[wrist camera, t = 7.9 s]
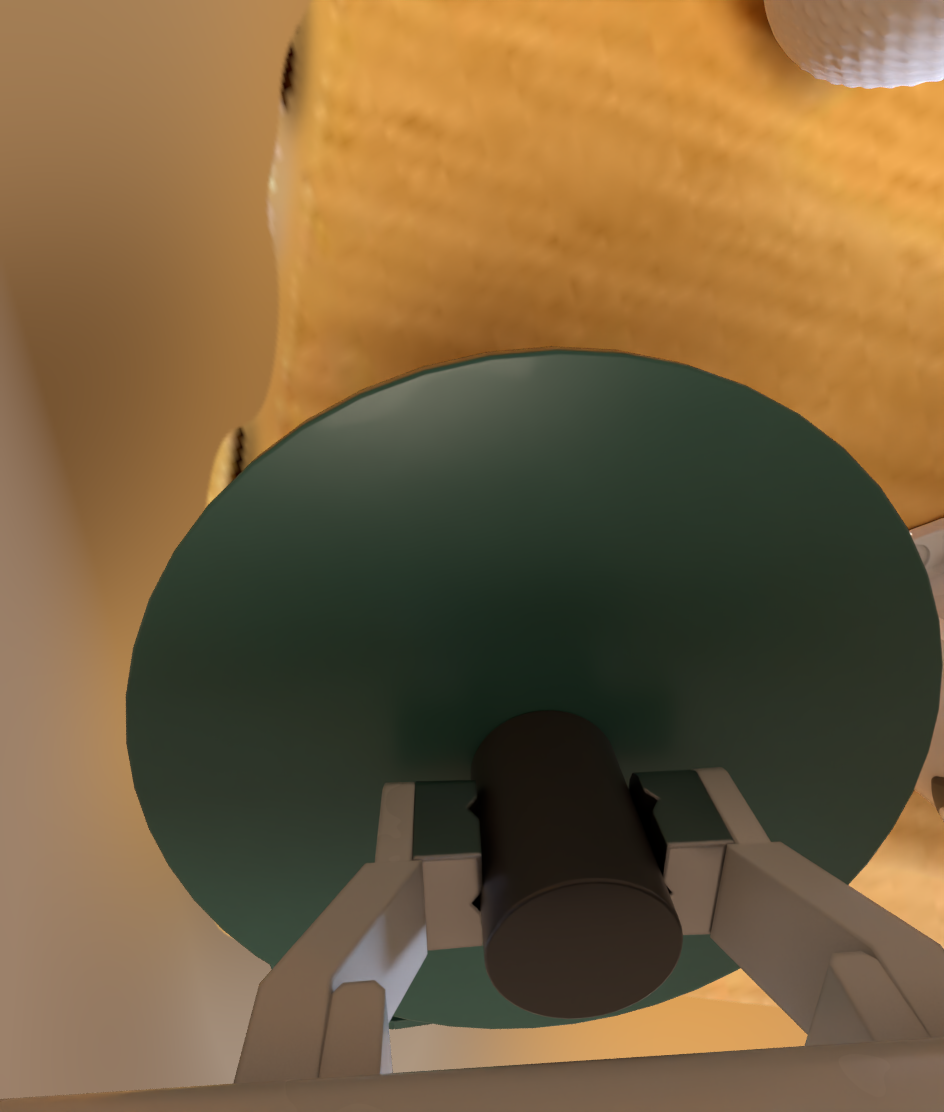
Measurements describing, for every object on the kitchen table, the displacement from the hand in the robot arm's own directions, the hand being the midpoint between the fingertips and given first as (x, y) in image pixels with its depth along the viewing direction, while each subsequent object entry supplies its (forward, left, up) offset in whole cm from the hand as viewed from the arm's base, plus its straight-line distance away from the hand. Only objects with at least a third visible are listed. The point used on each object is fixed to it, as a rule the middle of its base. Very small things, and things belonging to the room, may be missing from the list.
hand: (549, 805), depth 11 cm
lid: (0, 0, -2) cm, 2 cm away
